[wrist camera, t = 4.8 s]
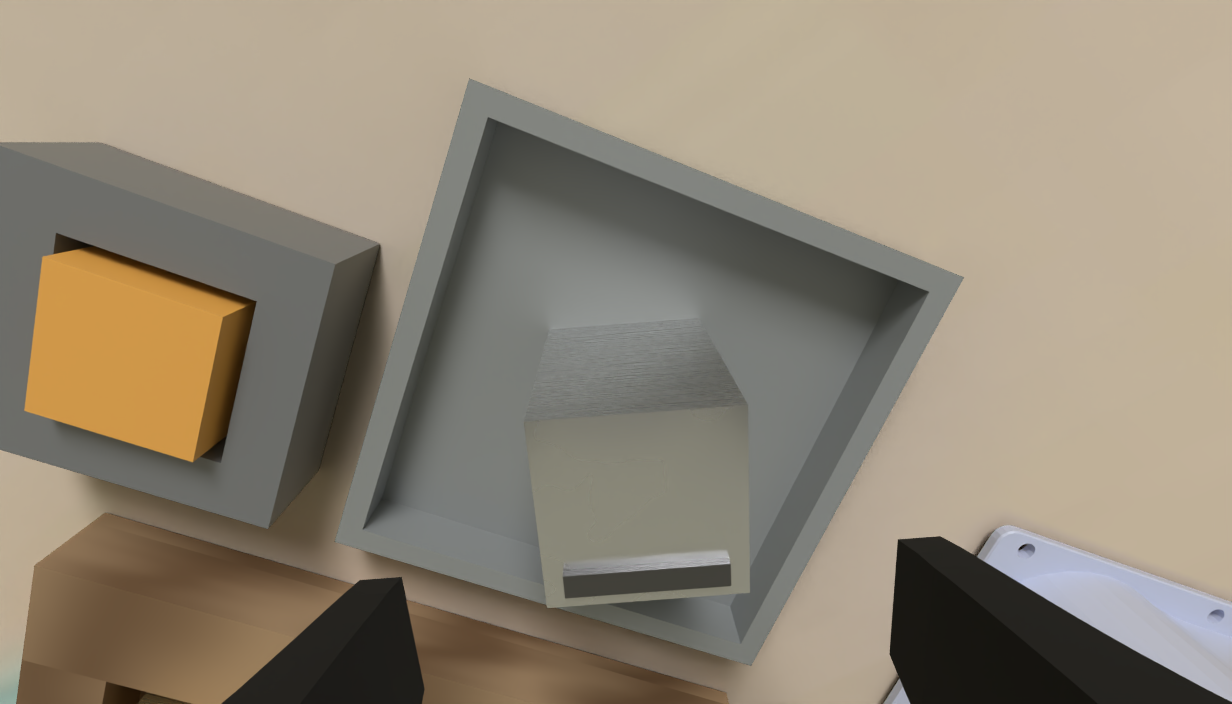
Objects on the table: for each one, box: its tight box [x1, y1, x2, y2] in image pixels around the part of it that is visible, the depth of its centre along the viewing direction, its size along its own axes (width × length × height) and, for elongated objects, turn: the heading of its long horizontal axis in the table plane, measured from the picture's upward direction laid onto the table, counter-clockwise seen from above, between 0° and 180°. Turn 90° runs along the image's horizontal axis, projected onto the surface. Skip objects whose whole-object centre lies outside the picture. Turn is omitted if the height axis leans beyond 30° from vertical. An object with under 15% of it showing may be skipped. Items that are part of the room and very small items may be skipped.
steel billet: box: [524, 318, 750, 608], centre depth 15 cm, size 4×4×6 cm
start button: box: [24, 246, 257, 462], centre depth 15 cm, size 4×4×3 cm
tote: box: [335, 78, 964, 666], centre depth 17 cm, size 12×12×2 cm
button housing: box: [0, 142, 380, 529], centre depth 16 cm, size 7×7×3 cm
